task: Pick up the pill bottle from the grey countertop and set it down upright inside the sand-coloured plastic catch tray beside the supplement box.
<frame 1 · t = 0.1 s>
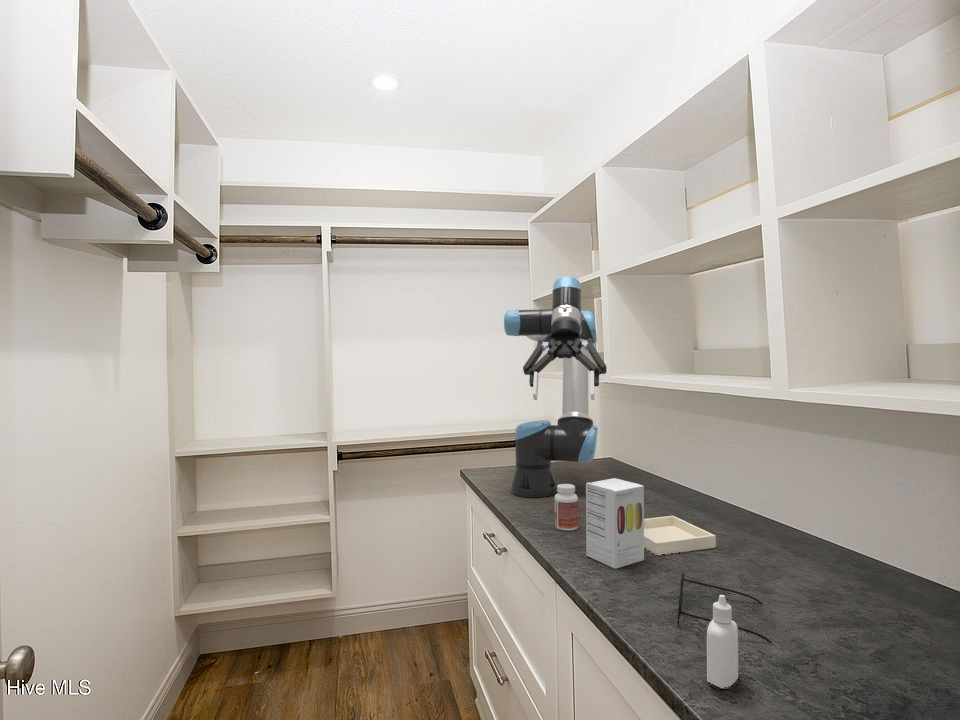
hand: (563, 397, 126), 36 cm above the worktop, tool tilted 35°, fingers open, 13 cm apart
catch tray: (665, 539, 130), on the worktop
eye dropper bottle: (722, 681, 75), on the worktop
pill bottle: (566, 528, 140), on the worktop
glasses: (723, 619, 93), on the worktop
supplement box: (615, 559, 119), on the worktop
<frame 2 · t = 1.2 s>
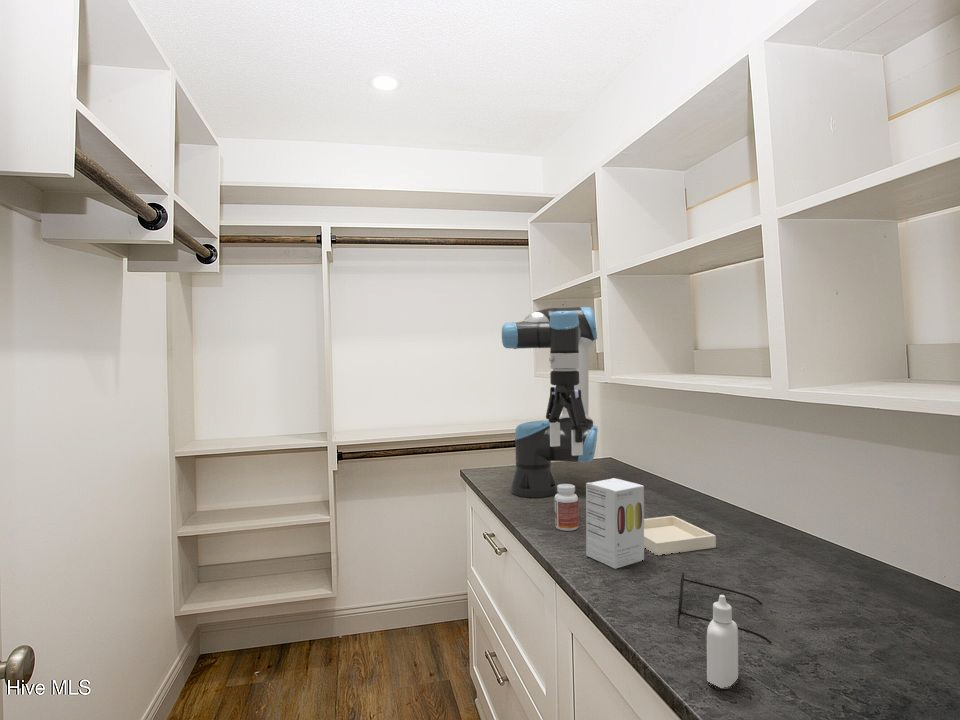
hand: (565, 450, 140), 20 cm above the worktop, tool pointing down, fingers open, 13 cm apart
nothing on the worktop moved.
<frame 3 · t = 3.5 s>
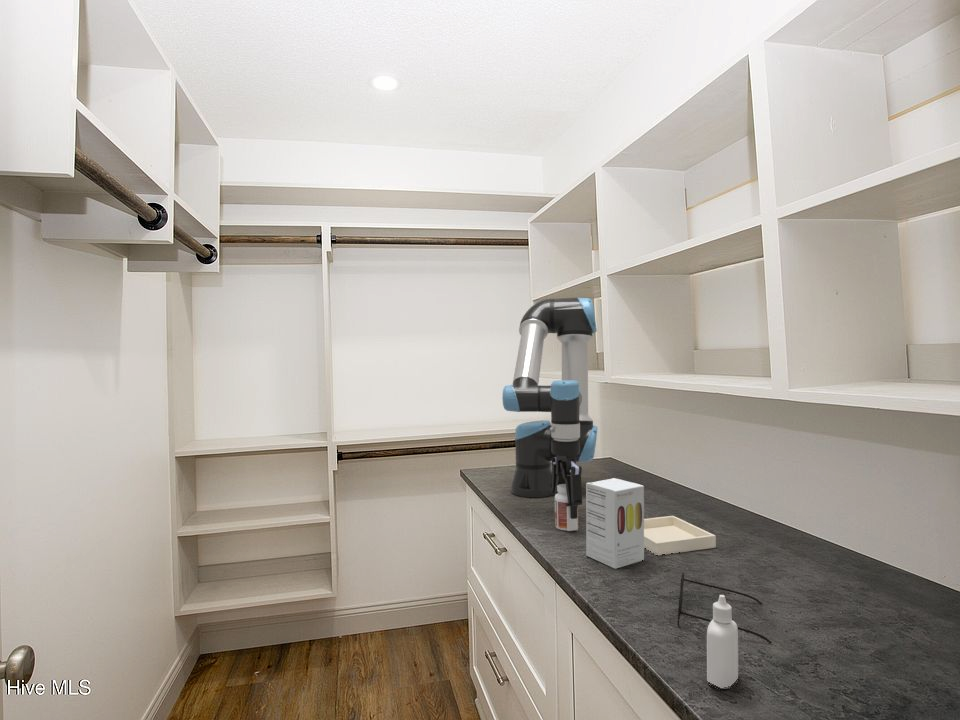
hand: (566, 525, 140), 0 cm above the worktop, tool pointing down, fingers closed on pill bottle, 6 cm apart
pill bottle: (566, 528, 140), on the worktop, touching gripper
everything else where it was.
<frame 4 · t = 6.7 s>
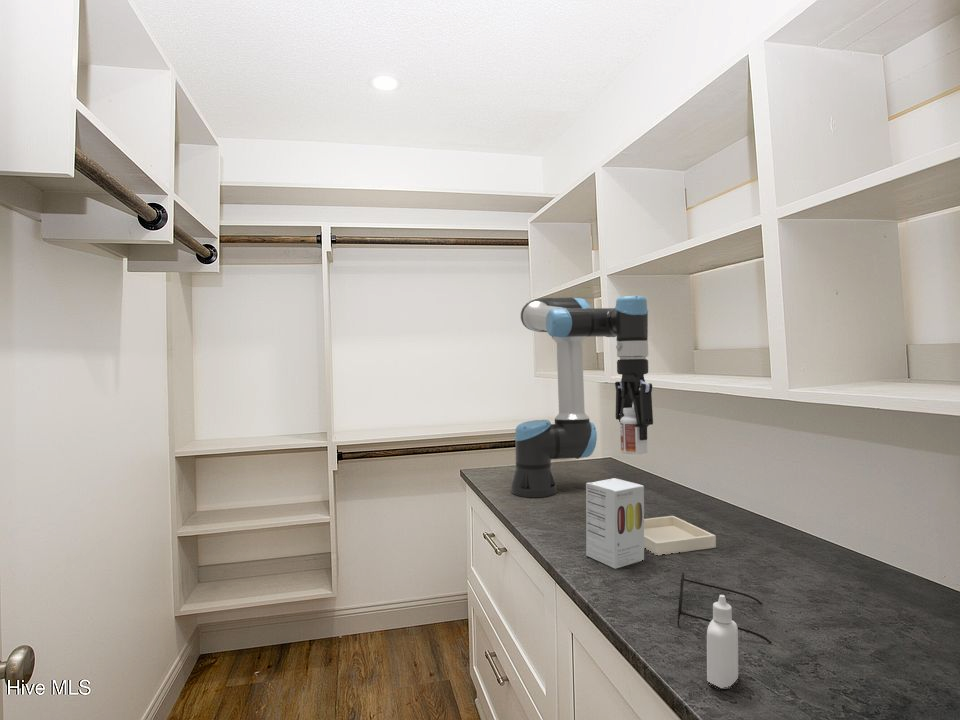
hand: (633, 450, 132), 22 cm above the worktop, tool pointing down, fingers closed on pill bottle, 6 cm apart
pill bottle: (633, 453, 132), point 21 cm above the worktop, touching gripper
everything else where it was.
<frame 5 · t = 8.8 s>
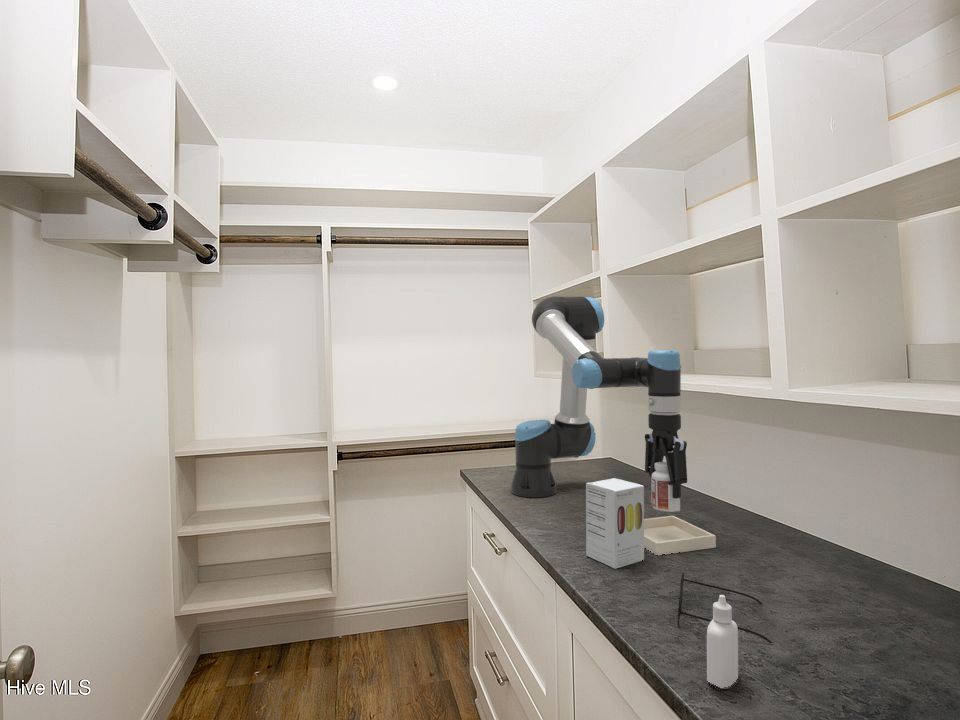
hand: (665, 506, 130), 8 cm above the worktop, tool pointing down, fingers closed on pill bottle, 6 cm apart
pill bottle: (665, 509, 130), point 8 cm above the worktop, touching gripper
everything else where it was.
when the fingers open (3 cm above the worktop, at t = 10.2 s): pill bottle drops 2 cm, resting on catch tray.
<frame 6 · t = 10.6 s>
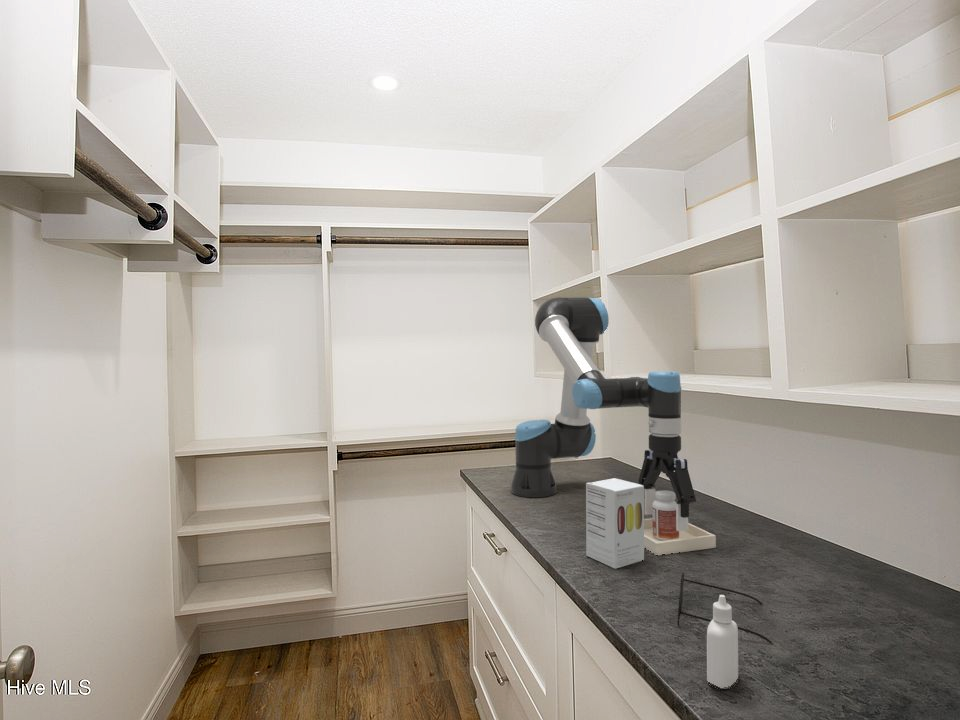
hand: (665, 521, 130), 4 cm above the worktop, tool pointing down, fingers open, 12 cm apart
pill bottle: (665, 538, 130), resting on catch tray
everything else where it was.
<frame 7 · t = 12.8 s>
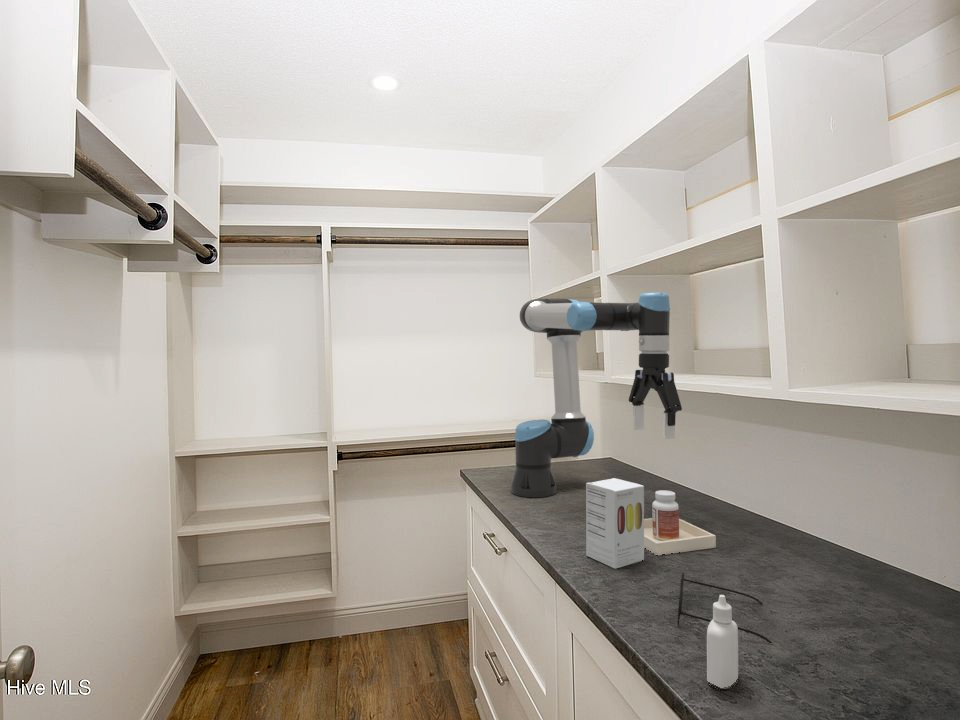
hand: (653, 433, 139), 25 cm above the worktop, tool pointing down, fingers open, 13 cm apart
nothing on the worktop moved.
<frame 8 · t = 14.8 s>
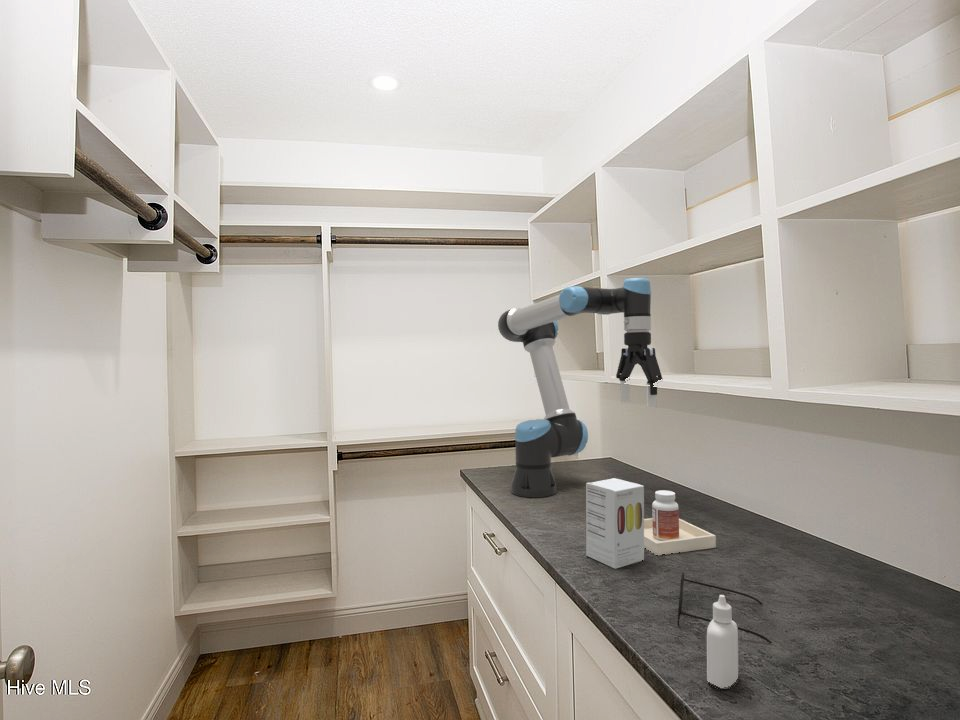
hand: (638, 404, 155), 31 cm above the worktop, tool pointing down, fingers open, 13 cm apart
nothing on the worktop moved.
at the end: pill bottle inside the target area on the catch tray (0.1 cm from its centre), point 0.4 cm above the catch tray's base; pill bottle tilted 0°; the gripper is holding nothing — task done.
